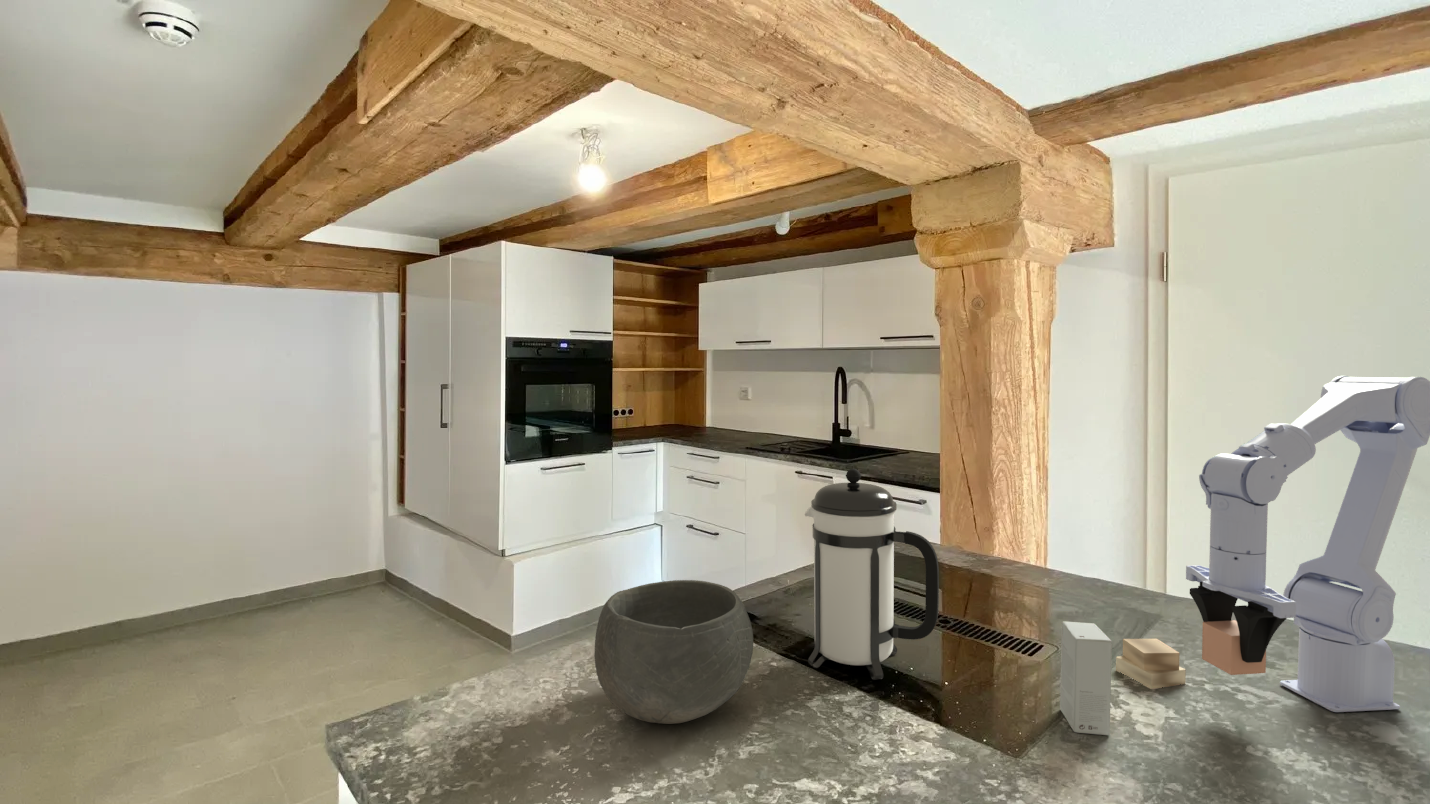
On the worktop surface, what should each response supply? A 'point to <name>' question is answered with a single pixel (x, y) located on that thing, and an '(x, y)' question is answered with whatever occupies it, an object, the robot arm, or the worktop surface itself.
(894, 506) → the coffee press
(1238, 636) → the cube
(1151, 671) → the tower base
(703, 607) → the bowl
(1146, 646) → the tower mid
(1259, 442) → the robot arm
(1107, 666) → the skincare box
